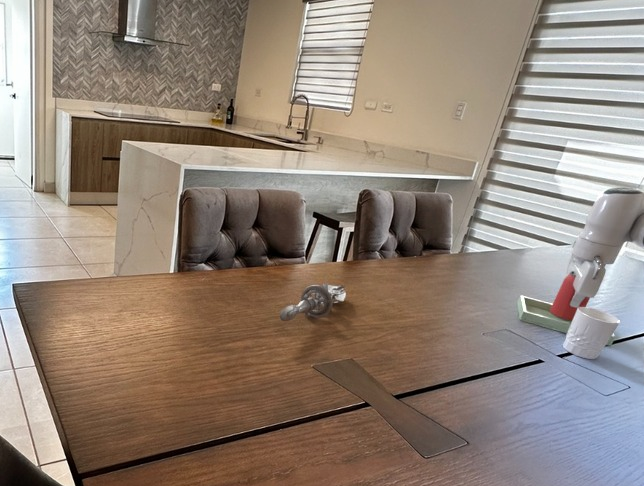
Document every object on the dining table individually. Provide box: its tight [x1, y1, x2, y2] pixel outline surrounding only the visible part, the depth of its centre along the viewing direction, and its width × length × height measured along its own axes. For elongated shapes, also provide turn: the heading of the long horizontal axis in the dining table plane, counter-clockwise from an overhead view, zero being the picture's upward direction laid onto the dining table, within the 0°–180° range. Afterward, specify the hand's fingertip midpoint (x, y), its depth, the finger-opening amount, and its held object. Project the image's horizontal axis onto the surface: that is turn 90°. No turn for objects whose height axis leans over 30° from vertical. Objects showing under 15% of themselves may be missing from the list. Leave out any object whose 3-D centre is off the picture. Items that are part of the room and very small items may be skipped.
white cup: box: [562, 306, 621, 360], centre depth 110 cm, size 8×8×10 cm
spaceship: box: [279, 282, 347, 322], centre depth 111 cm, size 8×35×8 cm
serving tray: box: [516, 294, 616, 347], centre depth 126 cm, size 20×14×3 cm
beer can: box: [550, 271, 591, 321], centre depth 123 cm, size 7×7×12 cm
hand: (571, 300), depth 124 cm, fingers closed on beer can, 6 cm apart
